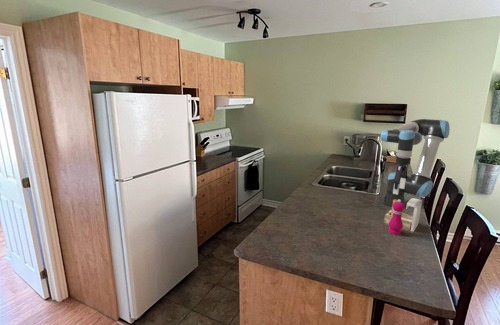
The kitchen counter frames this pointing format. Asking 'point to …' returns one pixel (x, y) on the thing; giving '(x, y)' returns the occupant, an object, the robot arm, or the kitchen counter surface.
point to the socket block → (404, 217)
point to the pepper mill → (396, 218)
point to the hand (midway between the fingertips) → (398, 191)
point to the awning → (415, 211)
